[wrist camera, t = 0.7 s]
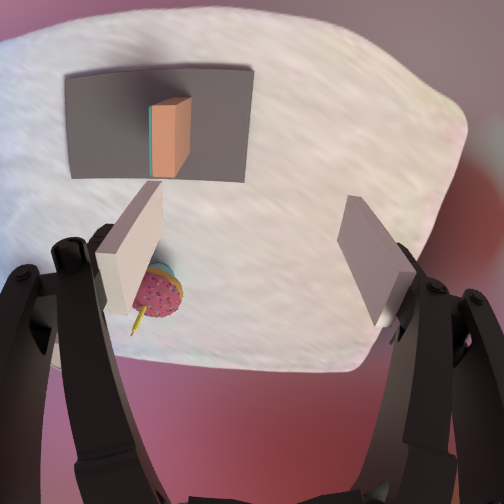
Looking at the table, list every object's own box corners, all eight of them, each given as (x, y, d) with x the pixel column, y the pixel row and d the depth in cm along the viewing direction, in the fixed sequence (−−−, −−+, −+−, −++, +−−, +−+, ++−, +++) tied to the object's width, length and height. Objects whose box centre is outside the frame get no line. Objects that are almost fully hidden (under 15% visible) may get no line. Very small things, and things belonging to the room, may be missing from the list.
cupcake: (159, 302, 50) (143, 358, 40) (123, 268, 46) (98, 322, 36) (197, 280, 48) (187, 338, 38) (161, 241, 44) (139, 296, 34)
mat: (74, 176, 38) (71, 178, 37) (68, 79, 30) (65, 79, 29) (244, 180, 39) (244, 182, 38) (254, 71, 32) (254, 71, 31)
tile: (169, 152, 36) (149, 176, 28) (170, 97, 32) (148, 105, 25) (189, 153, 36) (174, 177, 28) (191, 97, 32) (175, 105, 25)
